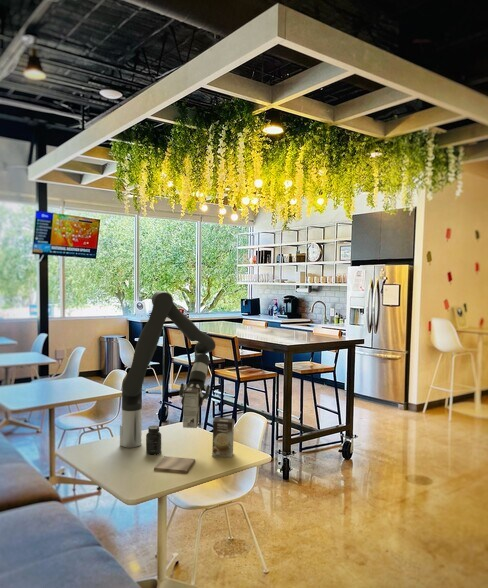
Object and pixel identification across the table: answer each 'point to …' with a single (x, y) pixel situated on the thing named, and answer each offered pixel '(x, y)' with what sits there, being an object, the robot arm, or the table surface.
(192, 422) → the coffee box
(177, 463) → the brown tray
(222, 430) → the coffee box
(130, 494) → the table surface
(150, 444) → the supplement bottle
